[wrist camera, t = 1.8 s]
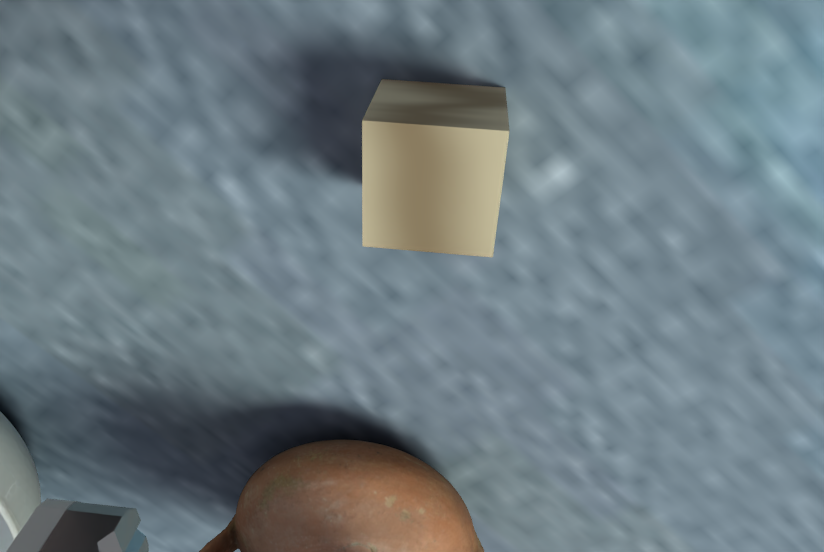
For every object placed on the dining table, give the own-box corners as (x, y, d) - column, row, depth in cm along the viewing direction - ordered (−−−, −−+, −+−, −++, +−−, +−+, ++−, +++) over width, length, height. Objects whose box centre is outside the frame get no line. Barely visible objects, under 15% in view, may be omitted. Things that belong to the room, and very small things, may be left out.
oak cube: (505, 87, 25) (509, 131, 21) (491, 198, 28) (492, 257, 24) (382, 78, 25) (362, 120, 21) (380, 189, 28) (362, 246, 24)
